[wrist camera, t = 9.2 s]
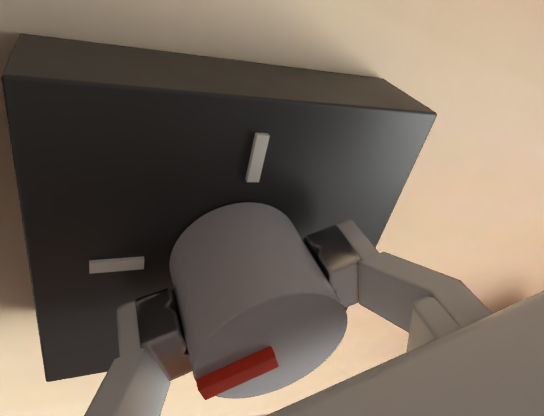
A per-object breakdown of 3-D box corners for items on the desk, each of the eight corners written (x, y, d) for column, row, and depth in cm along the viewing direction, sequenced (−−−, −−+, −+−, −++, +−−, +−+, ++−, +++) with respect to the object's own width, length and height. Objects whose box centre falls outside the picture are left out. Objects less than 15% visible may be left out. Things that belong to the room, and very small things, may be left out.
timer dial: (284, 181, 12) (349, 277, 9) (302, 270, 14) (357, 365, 11) (147, 234, 11) (169, 354, 8) (193, 316, 14) (222, 428, 11)
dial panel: (384, 78, 14) (442, 115, 12) (308, 281, 20) (339, 334, 17) (18, 32, 10) (-2, 77, 8) (50, 311, 15) (45, 388, 13)
